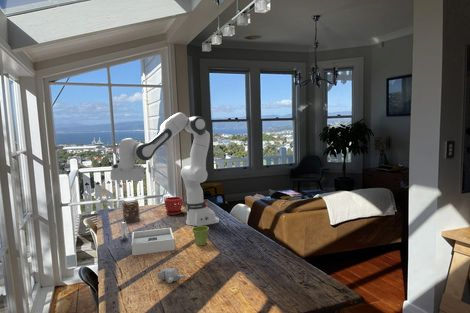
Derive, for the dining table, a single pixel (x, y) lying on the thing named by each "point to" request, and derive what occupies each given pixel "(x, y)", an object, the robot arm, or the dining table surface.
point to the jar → (130, 210)
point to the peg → (124, 230)
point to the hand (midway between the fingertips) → (127, 187)
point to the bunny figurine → (169, 274)
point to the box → (152, 241)
